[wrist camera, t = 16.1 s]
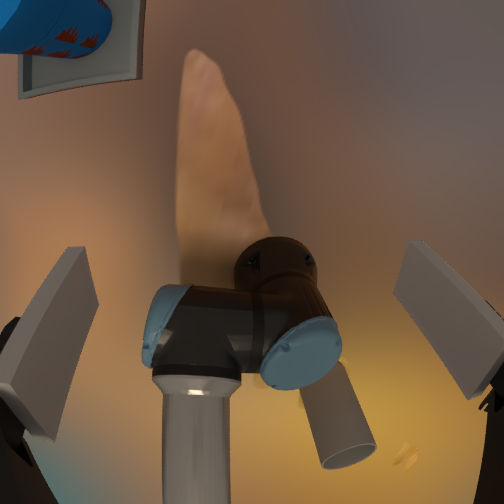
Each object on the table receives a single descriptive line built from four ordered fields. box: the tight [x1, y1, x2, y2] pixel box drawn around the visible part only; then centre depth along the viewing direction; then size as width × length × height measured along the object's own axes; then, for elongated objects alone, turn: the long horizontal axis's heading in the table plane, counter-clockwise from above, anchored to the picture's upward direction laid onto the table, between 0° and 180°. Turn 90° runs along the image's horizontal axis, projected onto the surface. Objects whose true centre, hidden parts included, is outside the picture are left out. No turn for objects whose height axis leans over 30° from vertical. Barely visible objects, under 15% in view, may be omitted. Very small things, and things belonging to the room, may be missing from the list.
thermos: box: [0, 0, 113, 59], centre depth 22 cm, size 11×11×25 cm
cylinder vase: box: [299, 362, 377, 470], centre depth 65 cm, size 12×12×25 cm
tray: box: [18, 0, 146, 100], centre depth 32 cm, size 20×20×4 cm
